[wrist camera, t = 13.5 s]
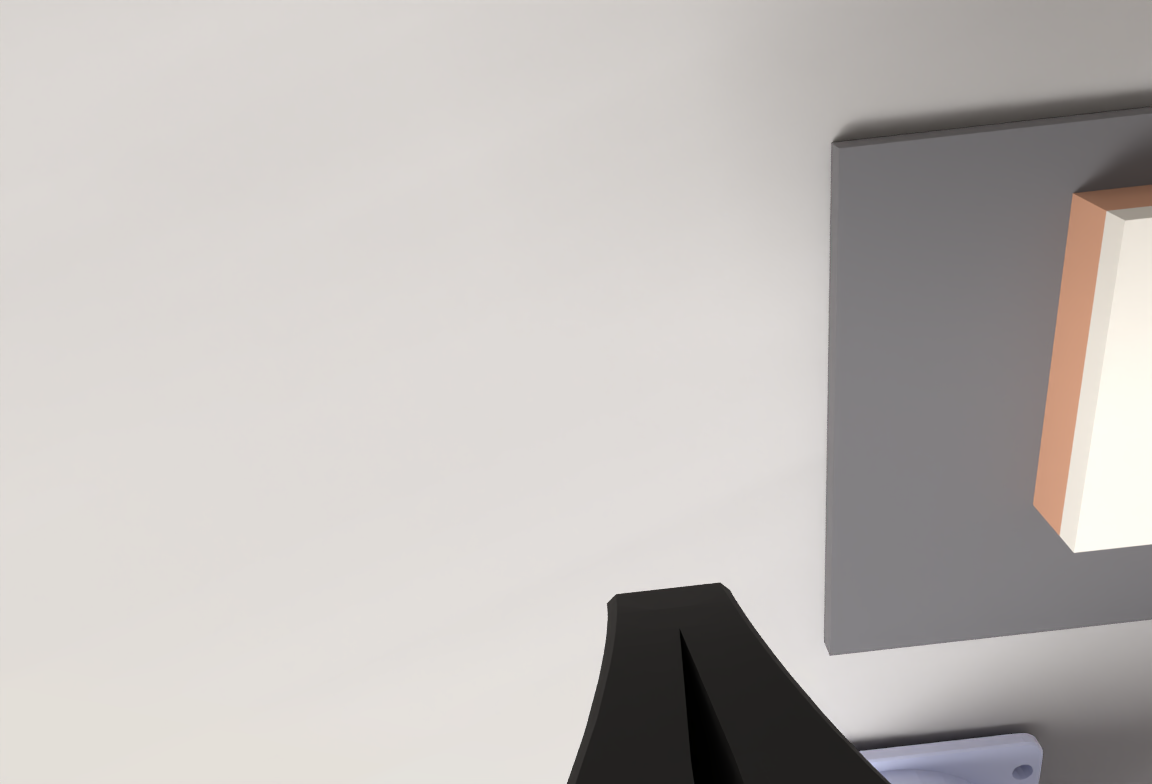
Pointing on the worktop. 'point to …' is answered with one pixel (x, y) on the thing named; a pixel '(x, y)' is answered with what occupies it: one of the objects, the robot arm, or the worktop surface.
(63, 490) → the worktop surface
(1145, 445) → the tile
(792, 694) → the robot arm
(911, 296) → the mat
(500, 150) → the worktop surface
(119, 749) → the worktop surface
